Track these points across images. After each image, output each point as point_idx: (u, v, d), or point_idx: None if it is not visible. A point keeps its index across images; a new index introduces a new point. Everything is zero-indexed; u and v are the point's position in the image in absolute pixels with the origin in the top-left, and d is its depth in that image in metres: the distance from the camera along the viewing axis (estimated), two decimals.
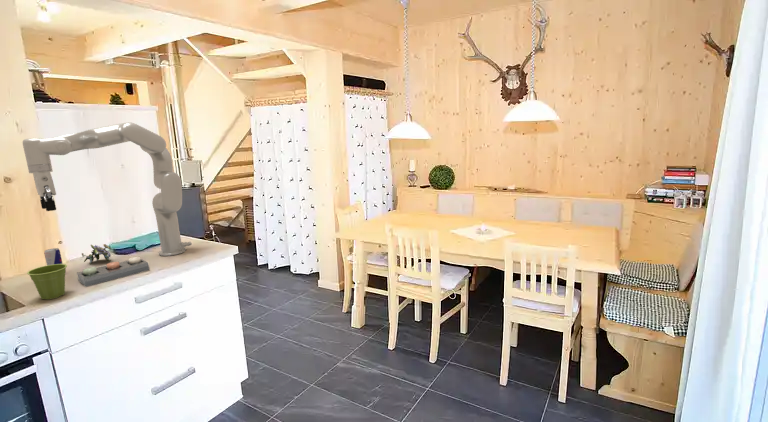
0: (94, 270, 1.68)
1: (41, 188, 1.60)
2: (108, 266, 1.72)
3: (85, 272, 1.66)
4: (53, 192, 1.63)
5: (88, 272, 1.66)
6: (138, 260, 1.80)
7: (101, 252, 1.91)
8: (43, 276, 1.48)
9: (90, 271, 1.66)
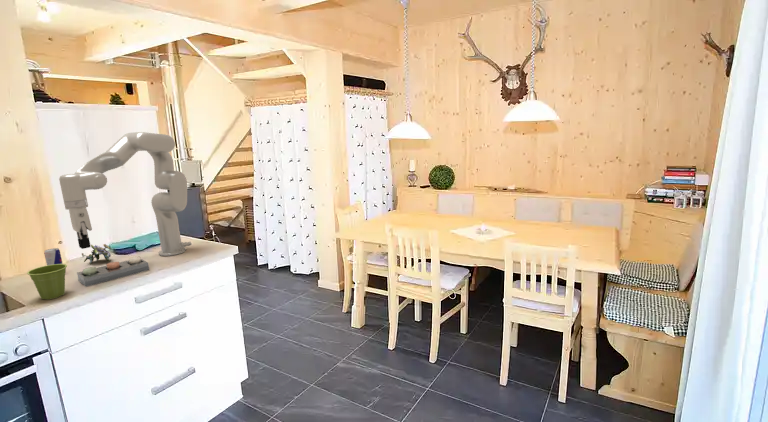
0: (94, 270, 1.68)
1: (78, 224, 1.59)
2: (108, 266, 1.72)
3: (85, 272, 1.66)
4: (89, 228, 1.62)
5: (88, 272, 1.66)
6: (138, 260, 1.80)
7: (101, 252, 1.91)
8: (43, 276, 1.48)
9: (90, 271, 1.66)
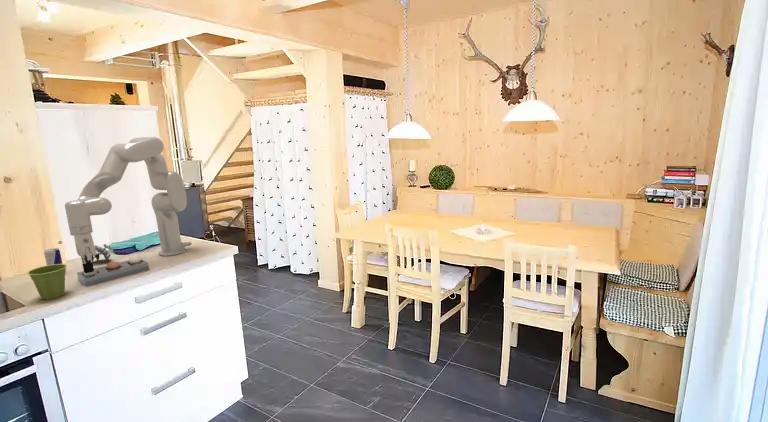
0: (95, 273, 1.68)
1: (82, 250, 1.61)
2: (108, 266, 1.72)
3: (86, 275, 1.66)
4: (93, 253, 1.64)
5: None
6: (138, 260, 1.80)
7: (101, 252, 1.91)
8: (43, 276, 1.48)
9: (91, 274, 1.67)
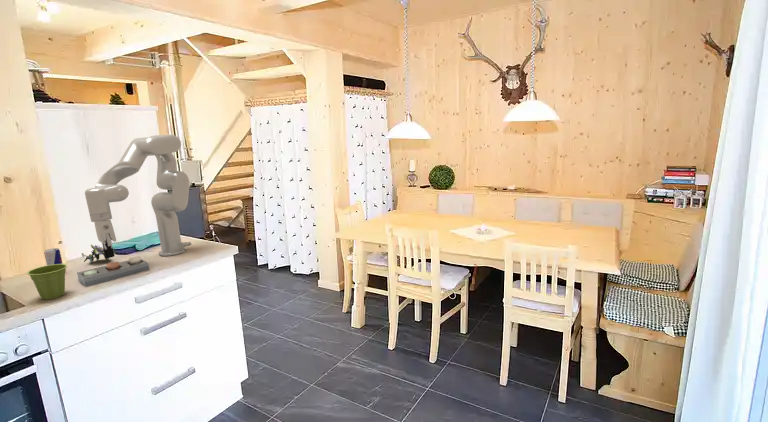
0: (95, 273, 1.68)
1: (103, 236, 1.66)
2: (108, 266, 1.72)
3: (86, 275, 1.66)
4: (114, 239, 1.69)
5: None
6: (138, 260, 1.80)
7: (101, 252, 1.91)
8: (43, 276, 1.48)
9: (91, 274, 1.67)
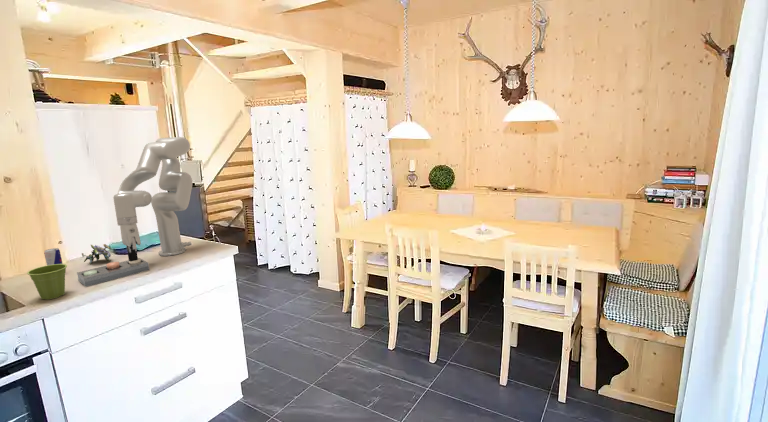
0: (95, 273, 1.68)
1: (129, 239, 1.73)
2: (108, 266, 1.72)
3: (86, 275, 1.66)
4: (138, 242, 1.76)
5: None
6: (138, 262, 1.80)
7: (101, 252, 1.91)
8: (43, 276, 1.48)
9: (91, 274, 1.67)
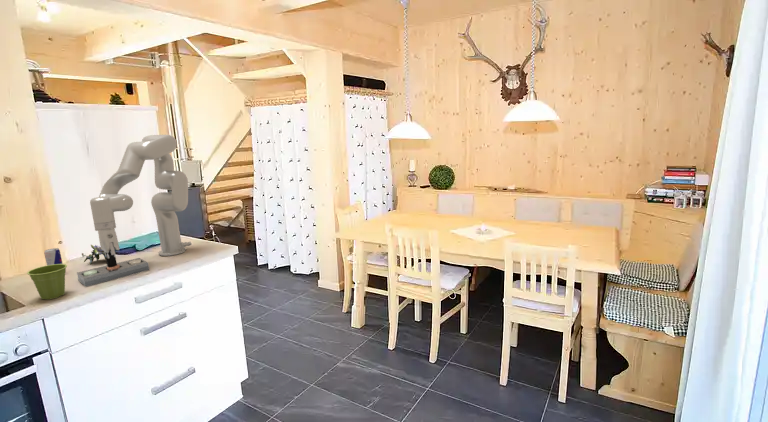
0: (95, 273, 1.68)
1: (107, 245, 1.68)
2: (109, 269, 1.72)
3: (86, 275, 1.66)
4: (117, 248, 1.70)
5: None
6: None
7: (101, 252, 1.91)
8: (43, 276, 1.48)
9: (91, 274, 1.67)
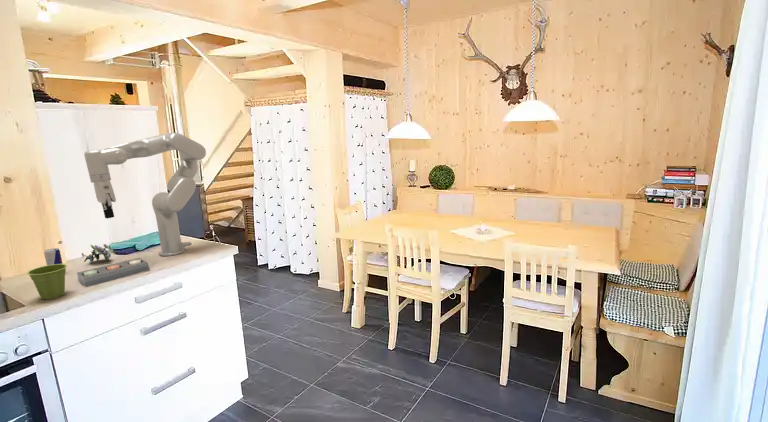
0: (95, 273, 1.68)
1: (103, 196, 1.74)
2: (109, 269, 1.72)
3: (86, 275, 1.66)
4: (114, 199, 1.77)
5: None
6: None
7: (101, 252, 1.91)
8: (43, 276, 1.48)
9: (91, 274, 1.67)
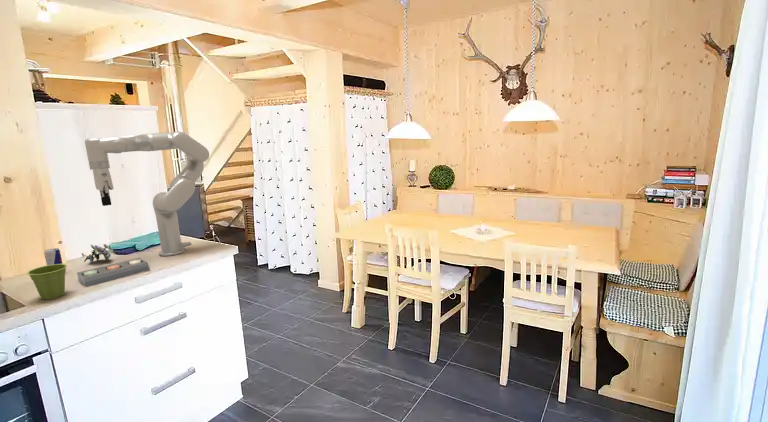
0: (95, 273, 1.68)
1: (101, 183, 1.77)
2: (109, 269, 1.72)
3: (86, 275, 1.66)
4: (111, 187, 1.80)
5: None
6: None
7: (101, 252, 1.91)
8: (43, 276, 1.48)
9: (91, 274, 1.67)
